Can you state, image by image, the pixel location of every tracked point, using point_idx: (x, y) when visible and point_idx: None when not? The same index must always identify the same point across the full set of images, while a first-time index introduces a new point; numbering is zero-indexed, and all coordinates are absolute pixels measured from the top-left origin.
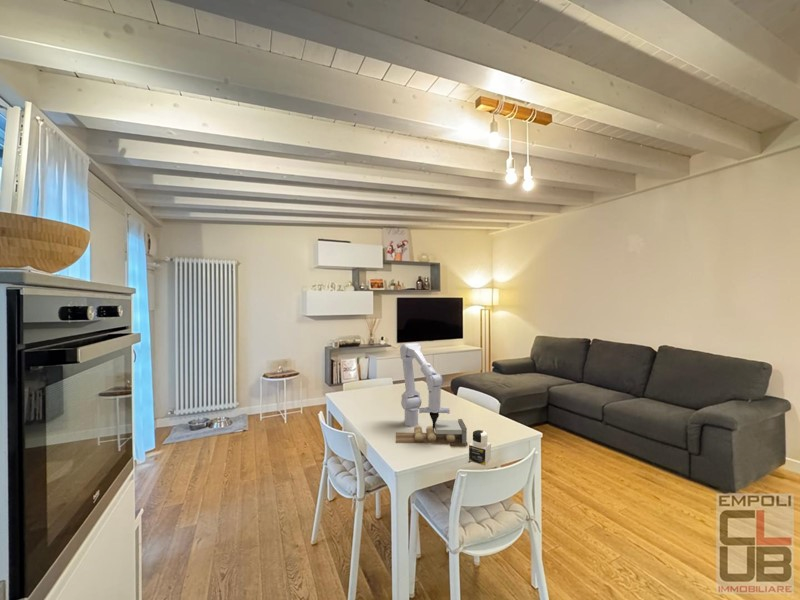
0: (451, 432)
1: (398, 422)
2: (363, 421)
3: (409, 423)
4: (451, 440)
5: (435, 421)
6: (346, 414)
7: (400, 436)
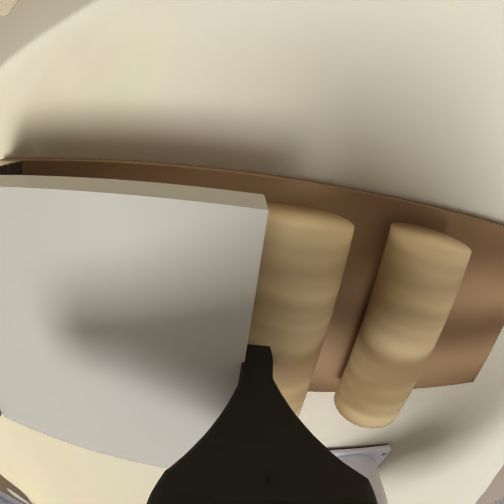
0: (39, 178)
1: None
2: (490, 456)
3: (366, 470)
4: None
5: (236, 409)
6: (493, 477)
7: (481, 332)
